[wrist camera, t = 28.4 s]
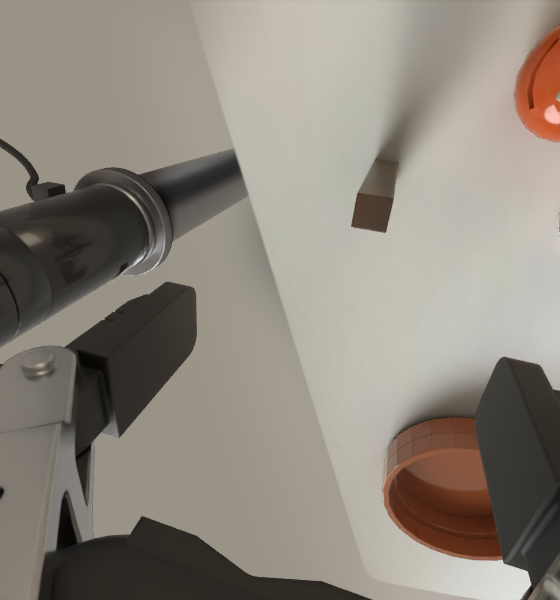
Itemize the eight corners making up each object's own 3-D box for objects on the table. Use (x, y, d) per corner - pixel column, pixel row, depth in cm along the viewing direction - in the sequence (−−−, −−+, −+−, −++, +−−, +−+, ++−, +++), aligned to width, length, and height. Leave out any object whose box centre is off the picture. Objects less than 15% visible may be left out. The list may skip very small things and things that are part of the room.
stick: (370, 183, 34) (350, 227, 22) (374, 159, 33) (357, 192, 21) (392, 186, 34) (385, 233, 22) (398, 162, 33) (393, 198, 21)
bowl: (372, 493, 52) (369, 529, 48) (403, 396, 43) (403, 428, 39) (511, 537, 48) (521, 579, 44) (575, 440, 40) (595, 481, 36)
